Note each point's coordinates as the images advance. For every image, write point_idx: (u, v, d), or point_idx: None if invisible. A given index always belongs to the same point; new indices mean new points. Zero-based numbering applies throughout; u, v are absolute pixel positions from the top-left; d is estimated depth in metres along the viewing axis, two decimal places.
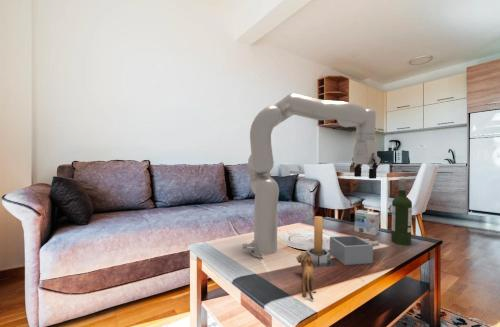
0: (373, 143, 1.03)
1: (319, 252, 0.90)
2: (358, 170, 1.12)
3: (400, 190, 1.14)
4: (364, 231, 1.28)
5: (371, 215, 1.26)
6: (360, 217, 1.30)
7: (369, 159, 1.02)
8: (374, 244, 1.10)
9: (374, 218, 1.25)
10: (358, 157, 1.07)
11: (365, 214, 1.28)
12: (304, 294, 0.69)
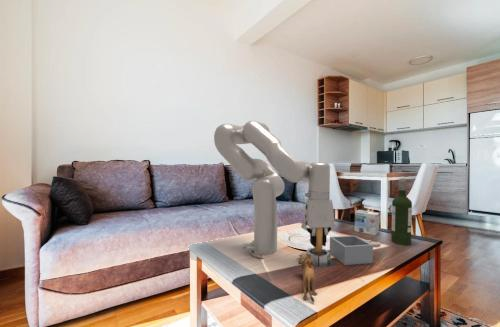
0: None
1: (319, 252, 0.90)
2: None
3: (400, 190, 1.14)
4: (364, 231, 1.28)
5: (371, 215, 1.26)
6: (360, 217, 1.30)
7: None
8: (374, 245, 1.09)
9: (374, 218, 1.25)
10: (320, 220, 0.88)
11: (365, 214, 1.28)
12: (305, 296, 0.68)
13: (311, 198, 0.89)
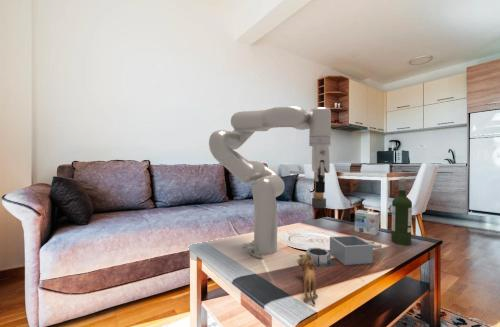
0: None
1: None
2: None
3: (400, 190, 1.14)
4: (364, 231, 1.28)
5: (371, 215, 1.26)
6: (360, 217, 1.30)
7: None
8: (373, 246, 1.07)
9: (374, 218, 1.25)
10: None
11: (365, 214, 1.28)
12: (306, 299, 0.67)
13: (325, 143, 0.87)
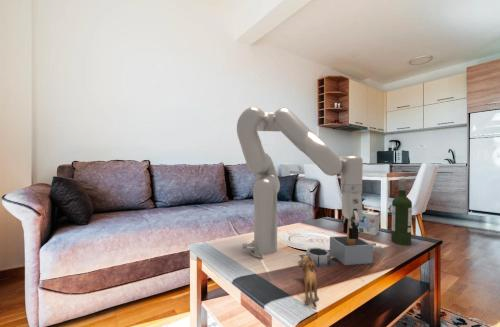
0: None
1: None
2: None
3: (400, 190, 1.14)
4: (364, 231, 1.28)
5: (371, 215, 1.26)
6: None
7: None
8: None
9: (374, 218, 1.25)
10: None
11: (365, 214, 1.28)
12: (307, 301, 0.66)
13: (358, 191, 0.89)
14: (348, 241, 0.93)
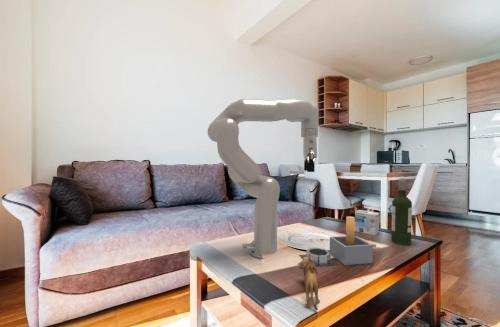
0: None
1: None
2: None
3: (400, 190, 1.14)
4: (364, 231, 1.28)
5: (371, 215, 1.26)
6: (360, 217, 1.30)
7: None
8: None
9: (374, 218, 1.25)
10: None
11: (365, 214, 1.28)
12: (307, 304, 0.65)
13: (313, 134, 1.08)
14: (347, 241, 0.93)
